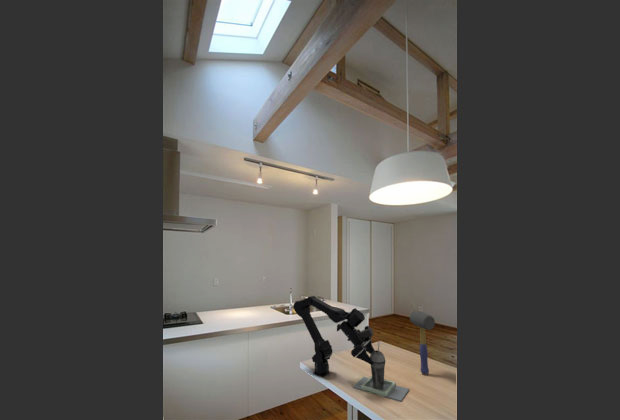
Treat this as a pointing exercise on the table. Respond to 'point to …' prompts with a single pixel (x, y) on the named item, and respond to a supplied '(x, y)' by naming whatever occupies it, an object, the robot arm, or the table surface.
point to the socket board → (388, 390)
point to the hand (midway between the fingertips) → (374, 360)
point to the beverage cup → (377, 368)
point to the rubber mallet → (423, 335)
